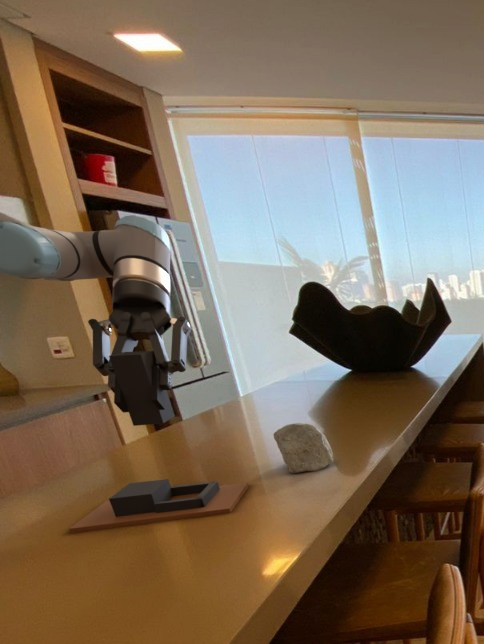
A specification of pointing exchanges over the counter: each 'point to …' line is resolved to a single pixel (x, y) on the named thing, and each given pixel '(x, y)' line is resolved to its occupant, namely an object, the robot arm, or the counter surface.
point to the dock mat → (161, 504)
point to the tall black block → (139, 387)
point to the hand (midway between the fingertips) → (140, 405)
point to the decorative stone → (303, 447)
